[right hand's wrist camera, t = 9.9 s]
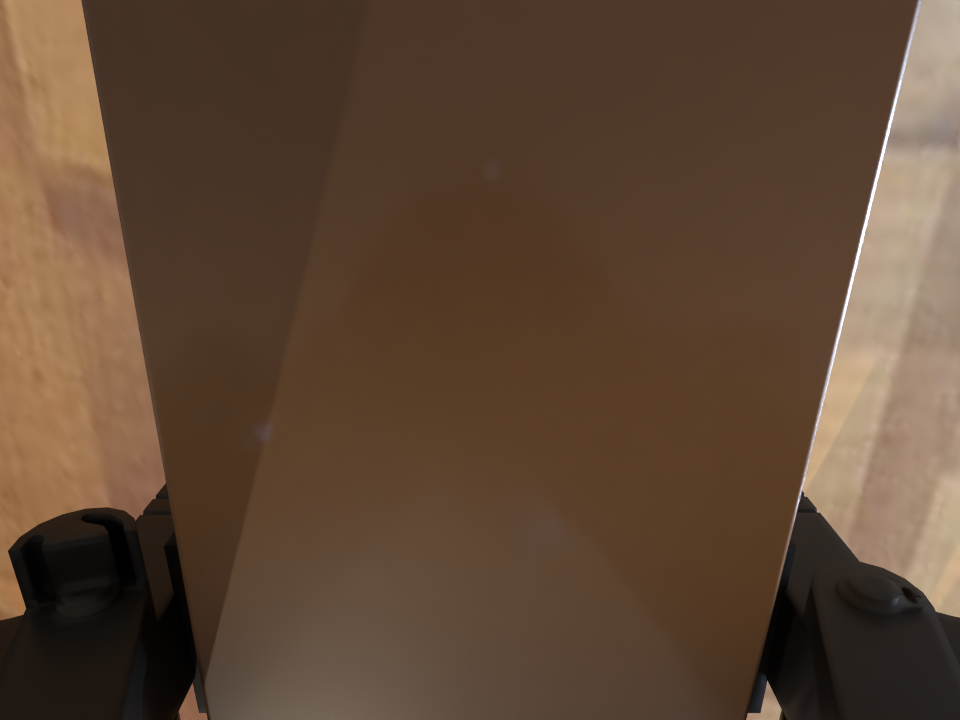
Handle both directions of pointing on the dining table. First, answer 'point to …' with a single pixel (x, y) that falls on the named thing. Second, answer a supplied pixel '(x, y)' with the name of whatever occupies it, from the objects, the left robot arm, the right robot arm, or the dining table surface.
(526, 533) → the post
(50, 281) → the dining table surface
